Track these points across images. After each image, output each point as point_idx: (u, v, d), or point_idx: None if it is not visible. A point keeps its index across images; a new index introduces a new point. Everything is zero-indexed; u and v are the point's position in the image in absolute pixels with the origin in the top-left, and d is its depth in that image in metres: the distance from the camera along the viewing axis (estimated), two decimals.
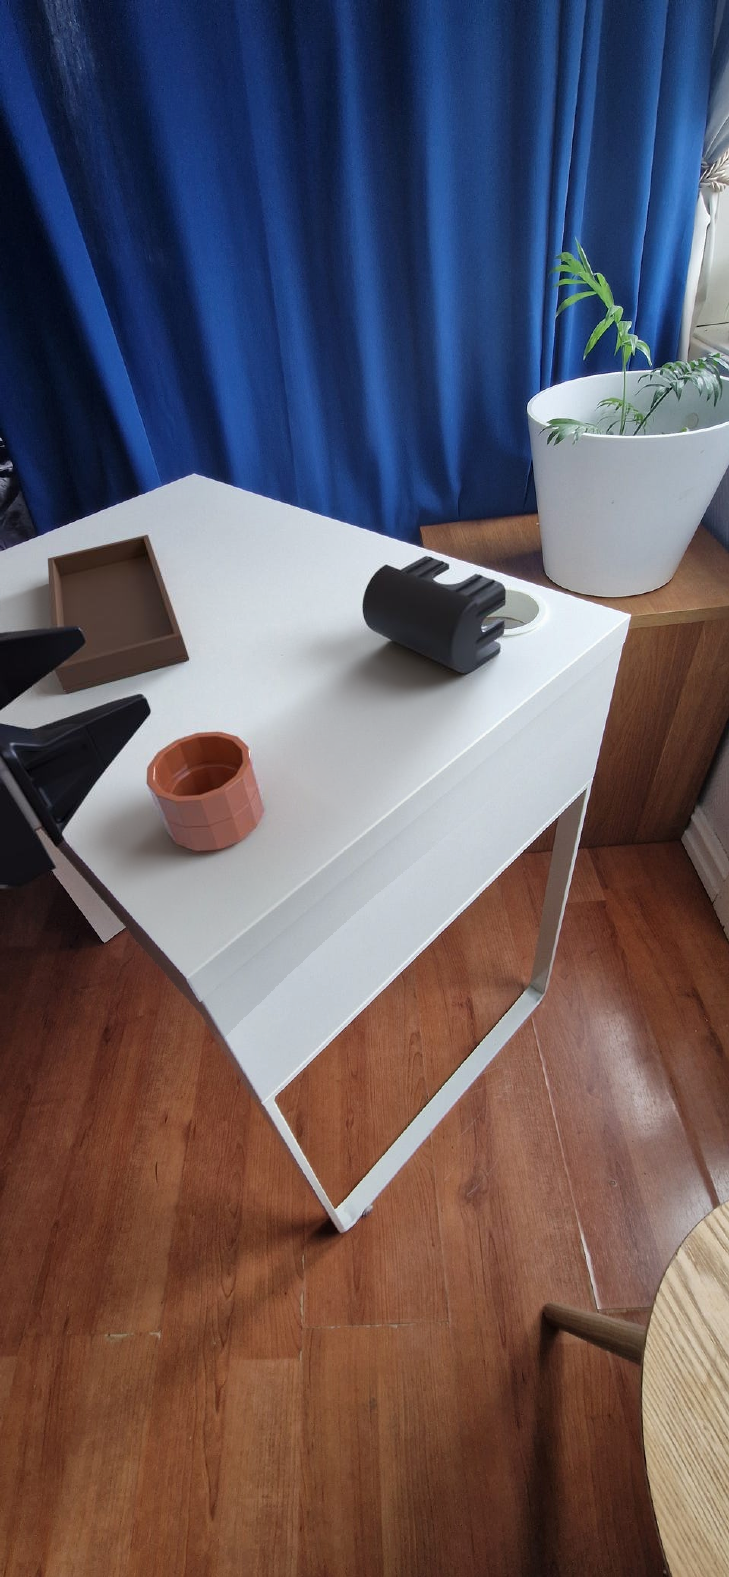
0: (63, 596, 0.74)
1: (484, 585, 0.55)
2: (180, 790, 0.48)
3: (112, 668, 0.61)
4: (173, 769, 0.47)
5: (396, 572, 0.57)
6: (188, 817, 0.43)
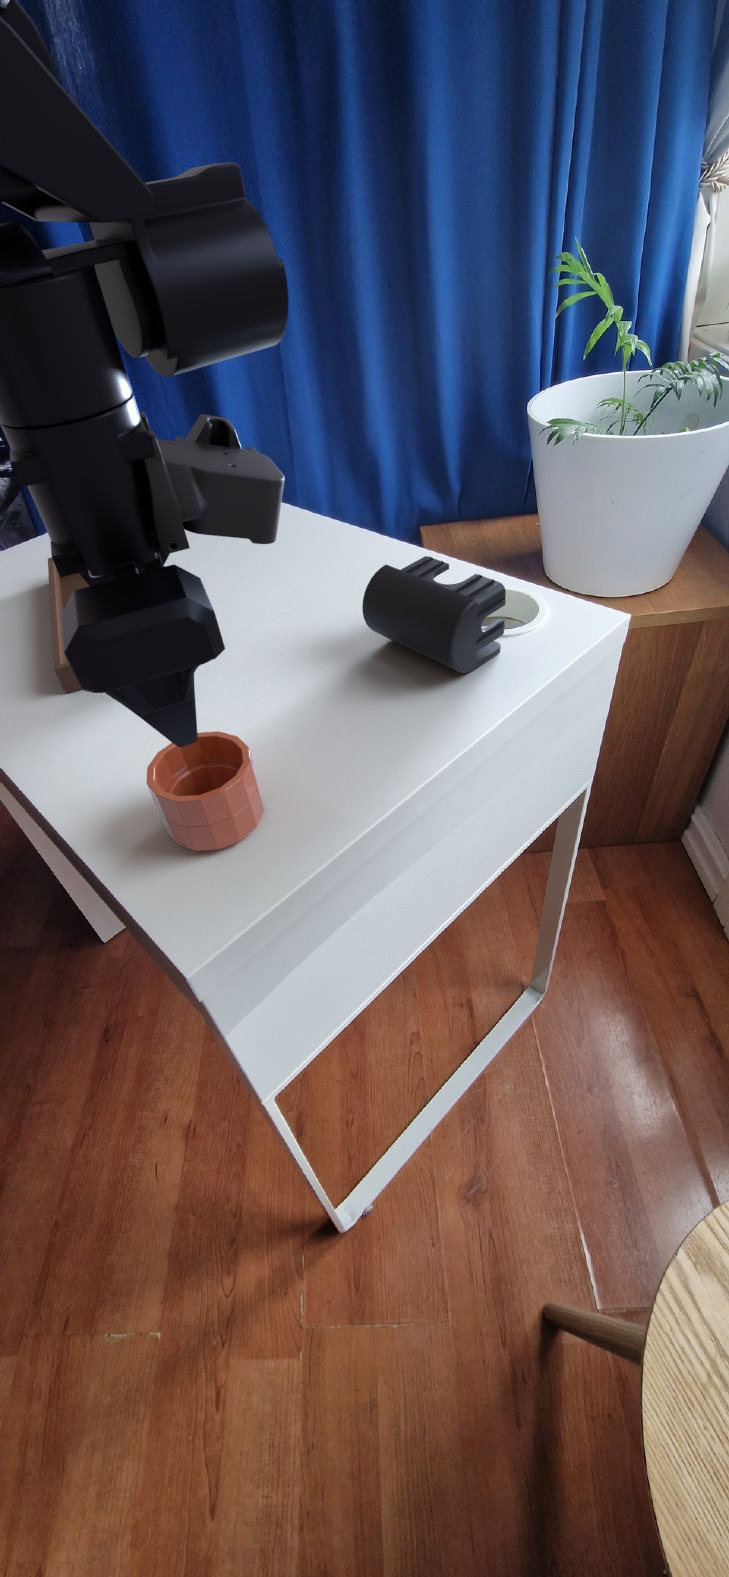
0: (63, 596, 0.74)
1: (484, 585, 0.55)
2: (180, 790, 0.48)
3: None
4: (173, 769, 0.47)
5: (396, 572, 0.57)
6: (188, 817, 0.43)
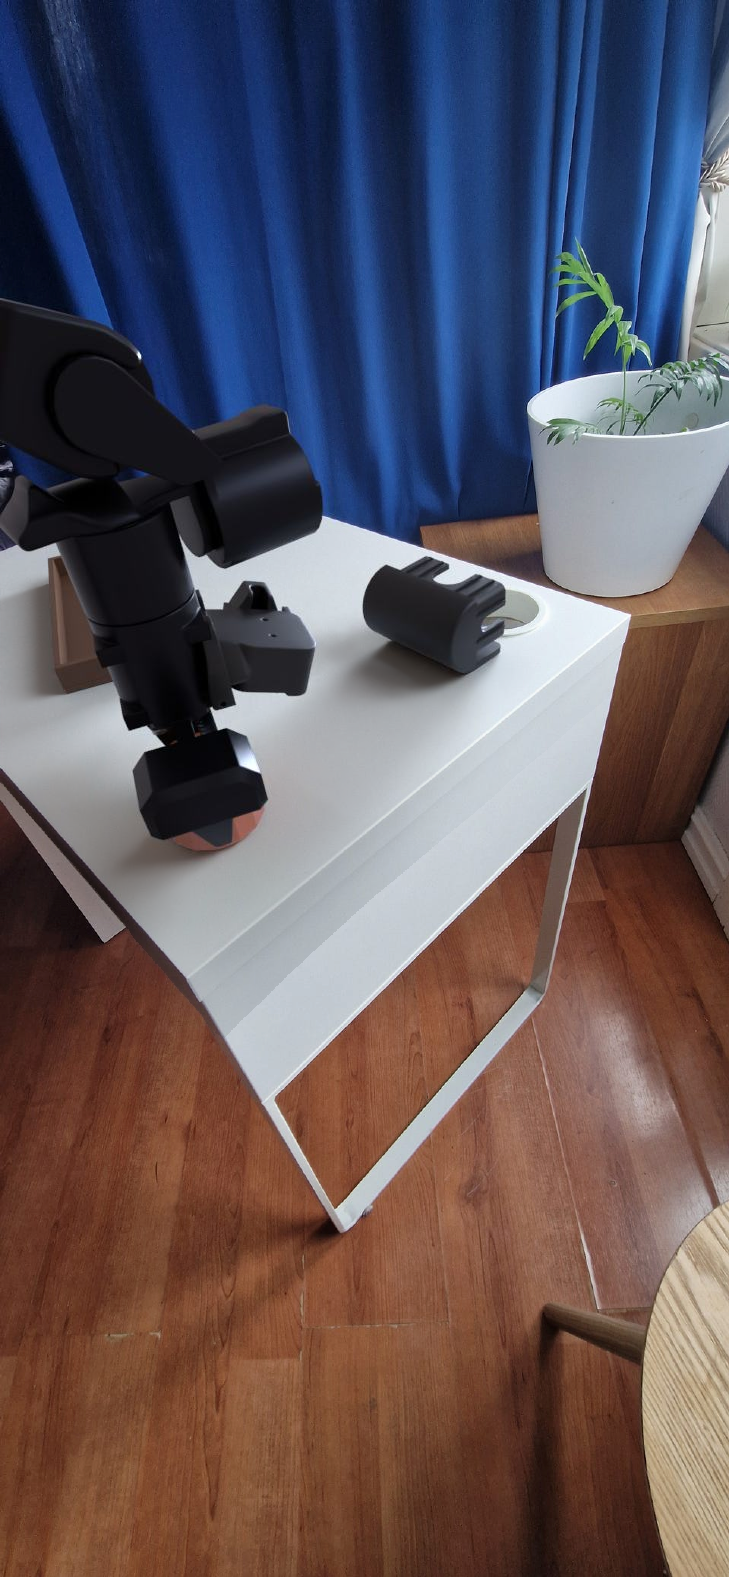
0: (63, 596, 0.74)
1: (484, 585, 0.55)
2: None
3: None
4: None
5: (396, 572, 0.57)
6: None
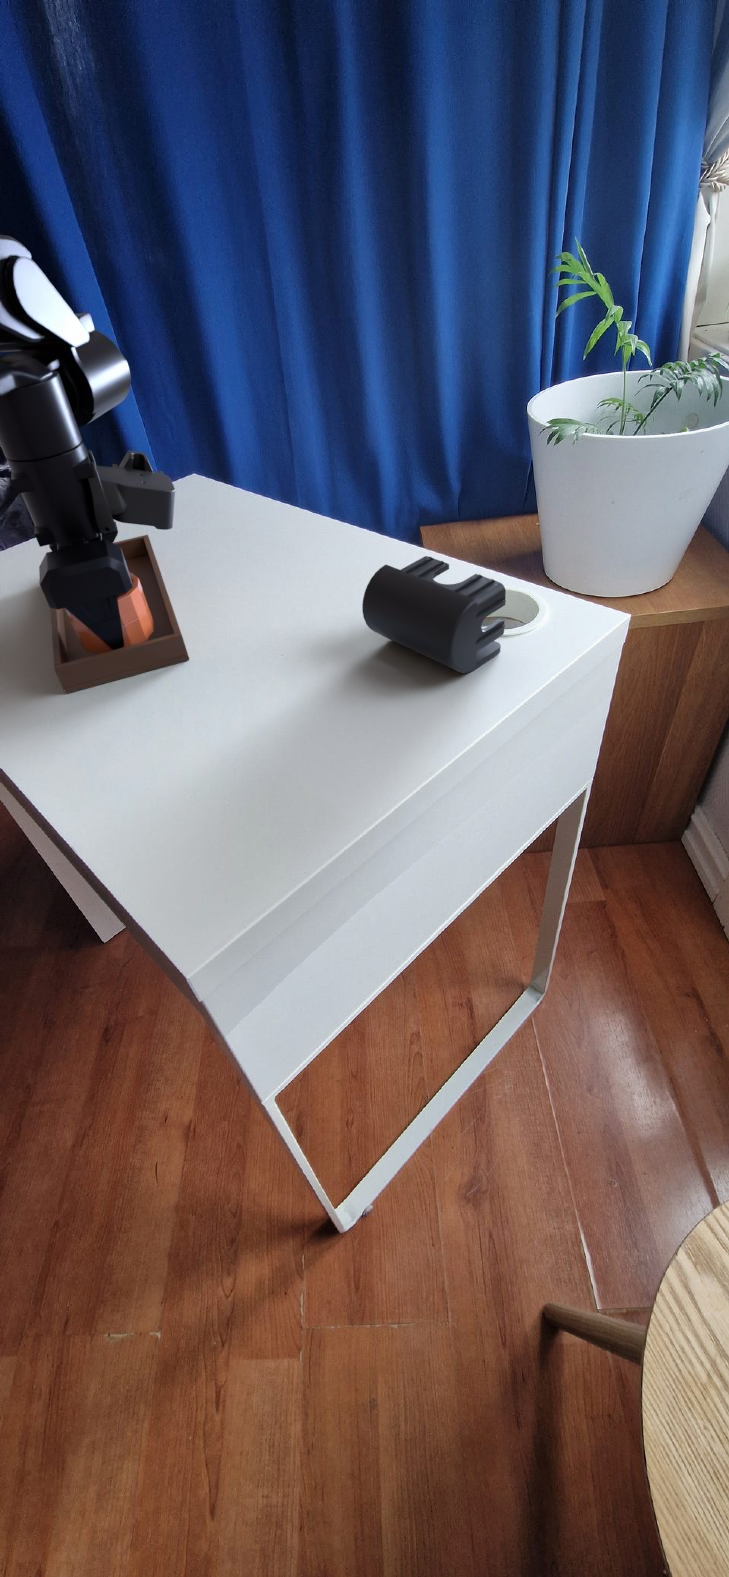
0: None
1: (484, 585, 0.55)
2: None
3: (112, 668, 0.61)
4: None
5: (396, 572, 0.57)
6: None
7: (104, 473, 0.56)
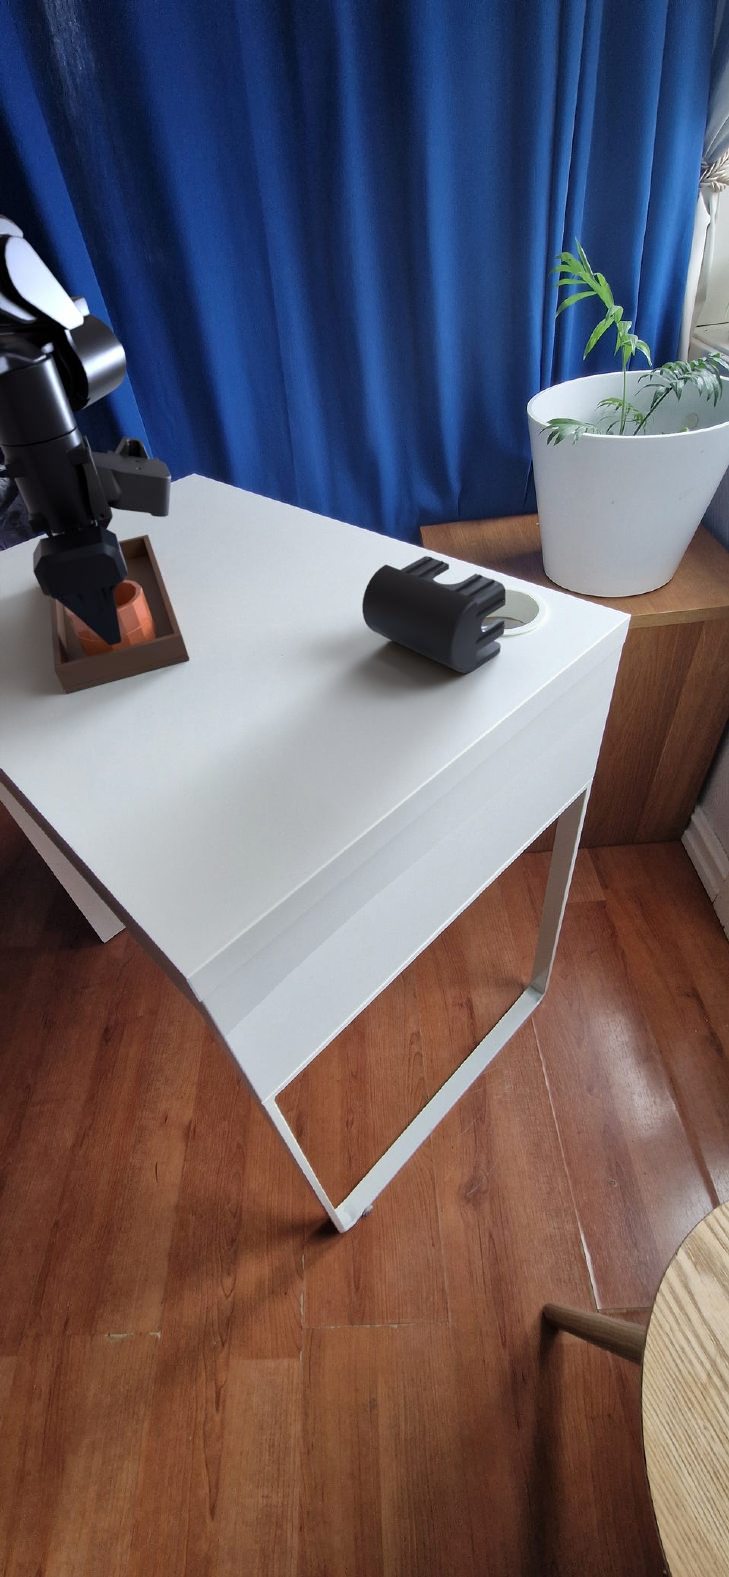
0: None
1: (484, 585, 0.55)
2: None
3: (112, 668, 0.61)
4: None
5: (396, 572, 0.57)
6: (93, 631, 0.60)
7: (99, 459, 0.55)
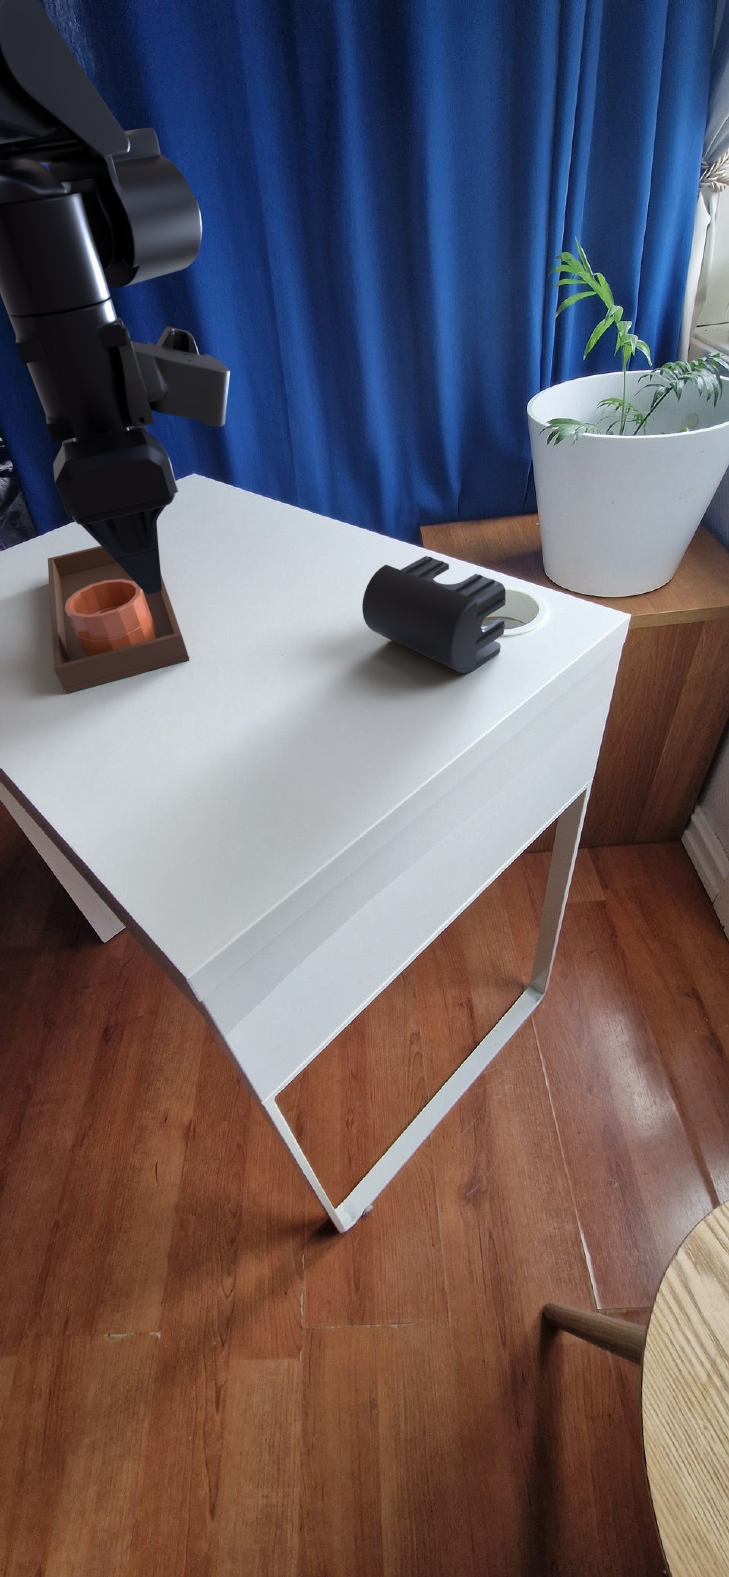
0: (63, 596, 0.74)
1: (484, 585, 0.55)
2: None
3: (112, 668, 0.61)
4: (88, 607, 0.64)
5: (396, 572, 0.57)
6: (93, 631, 0.60)
7: (138, 347, 0.42)
